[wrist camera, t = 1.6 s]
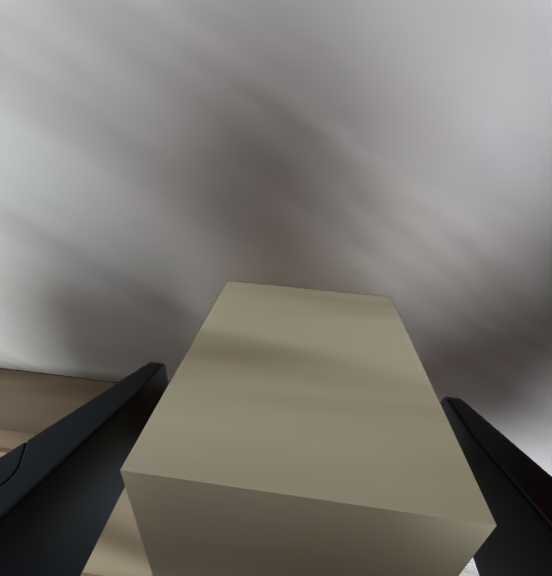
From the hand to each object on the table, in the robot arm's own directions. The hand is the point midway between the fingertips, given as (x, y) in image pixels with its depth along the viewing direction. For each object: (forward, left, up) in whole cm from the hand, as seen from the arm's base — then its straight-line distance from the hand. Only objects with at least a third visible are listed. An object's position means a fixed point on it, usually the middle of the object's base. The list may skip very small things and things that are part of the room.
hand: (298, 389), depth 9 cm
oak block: (0, 0, -2) cm, 2 cm away
